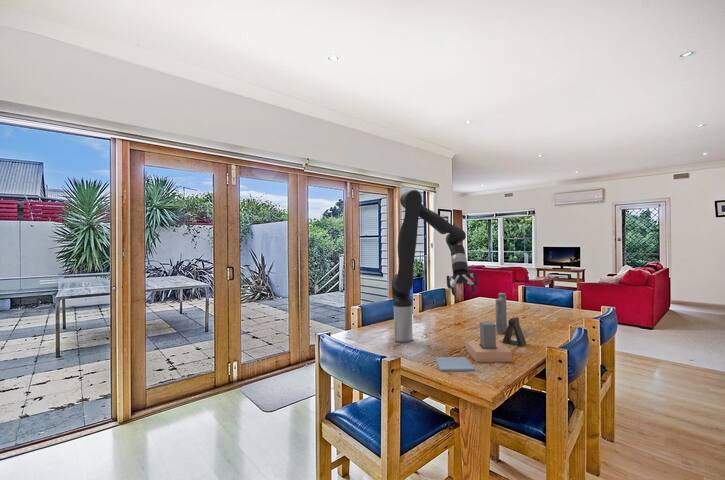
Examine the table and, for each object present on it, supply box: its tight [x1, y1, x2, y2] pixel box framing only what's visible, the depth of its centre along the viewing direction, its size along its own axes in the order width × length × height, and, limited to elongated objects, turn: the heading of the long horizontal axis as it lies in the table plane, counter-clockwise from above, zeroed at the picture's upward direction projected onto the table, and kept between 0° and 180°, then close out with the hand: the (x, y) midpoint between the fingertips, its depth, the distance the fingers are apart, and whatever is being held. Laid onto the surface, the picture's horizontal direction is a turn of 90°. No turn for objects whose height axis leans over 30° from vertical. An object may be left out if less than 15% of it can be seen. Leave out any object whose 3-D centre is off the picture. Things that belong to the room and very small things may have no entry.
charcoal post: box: [479, 321, 497, 349], centre depth 147 cm, size 5×5×14 cm
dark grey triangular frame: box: [502, 316, 527, 347], centre depth 164 cm, size 9×6×12 cm, turn 48°
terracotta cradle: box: [466, 340, 513, 363], centre depth 147 cm, size 14×14×4 cm
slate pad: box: [434, 356, 476, 372], centre depth 138 cm, size 13×13×1 cm
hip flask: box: [495, 292, 508, 335], centre depth 186 cm, size 16×4×20 cm, turn 149°
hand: (463, 294), depth 161 cm, fingers open, 8 cm apart
